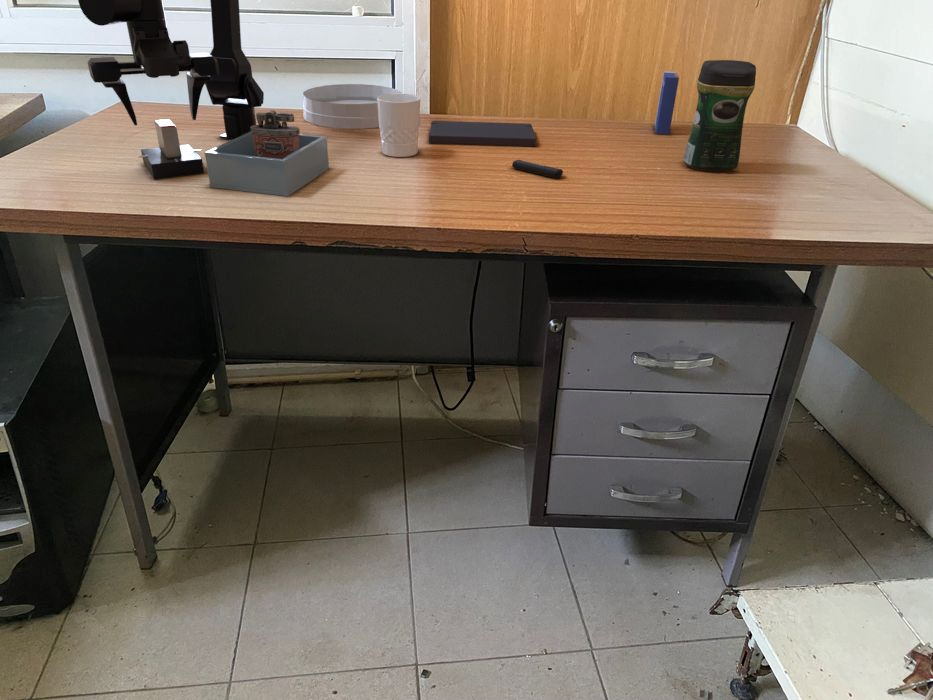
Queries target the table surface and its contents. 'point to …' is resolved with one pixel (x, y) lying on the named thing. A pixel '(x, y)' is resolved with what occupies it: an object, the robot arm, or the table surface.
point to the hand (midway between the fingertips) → (165, 122)
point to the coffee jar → (719, 115)
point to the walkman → (666, 102)
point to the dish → (344, 105)
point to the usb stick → (537, 168)
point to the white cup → (399, 123)
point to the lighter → (275, 135)
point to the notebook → (482, 133)
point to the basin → (266, 166)
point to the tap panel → (172, 163)
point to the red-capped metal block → (168, 138)
